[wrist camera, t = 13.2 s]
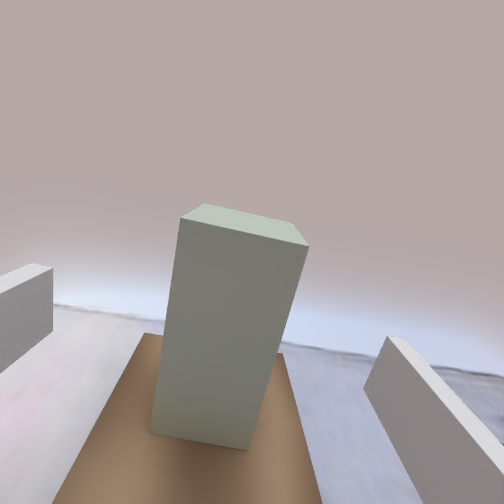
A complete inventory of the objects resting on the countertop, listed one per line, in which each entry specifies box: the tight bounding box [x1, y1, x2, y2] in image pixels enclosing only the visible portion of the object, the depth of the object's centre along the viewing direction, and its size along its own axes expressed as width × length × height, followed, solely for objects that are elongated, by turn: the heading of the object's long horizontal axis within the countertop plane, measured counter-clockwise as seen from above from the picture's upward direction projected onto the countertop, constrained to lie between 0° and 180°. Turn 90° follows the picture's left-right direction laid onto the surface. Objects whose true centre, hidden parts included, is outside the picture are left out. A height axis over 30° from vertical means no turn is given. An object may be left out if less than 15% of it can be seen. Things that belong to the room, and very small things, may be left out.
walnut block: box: [52, 333, 322, 504], centre depth 16 cm, size 11×11×4 cm
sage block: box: [149, 204, 309, 451], centre depth 14 cm, size 5×5×11 cm
